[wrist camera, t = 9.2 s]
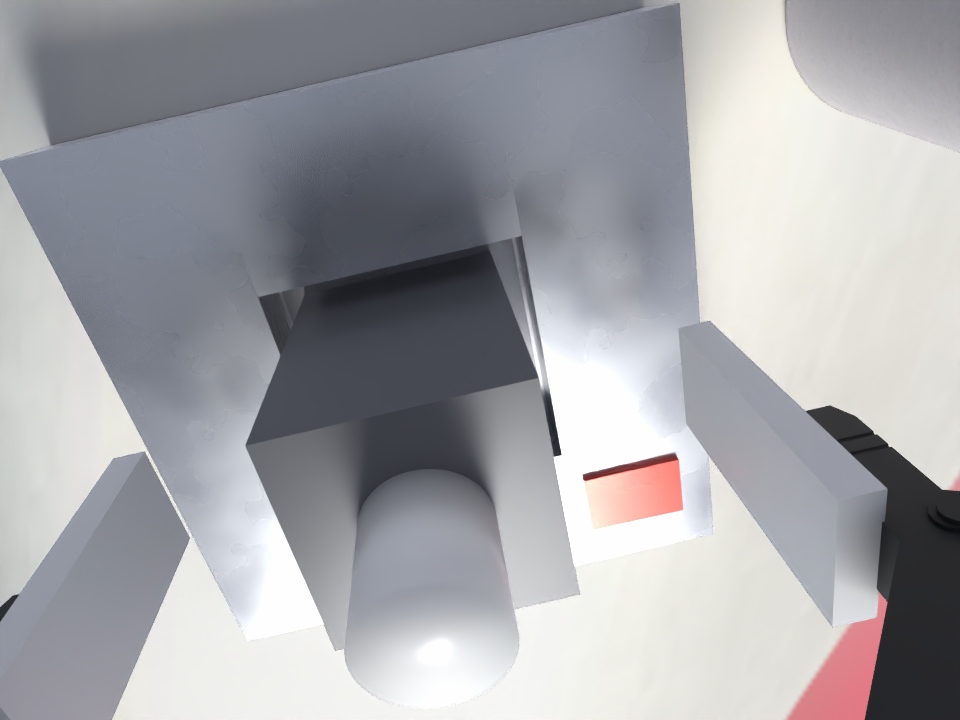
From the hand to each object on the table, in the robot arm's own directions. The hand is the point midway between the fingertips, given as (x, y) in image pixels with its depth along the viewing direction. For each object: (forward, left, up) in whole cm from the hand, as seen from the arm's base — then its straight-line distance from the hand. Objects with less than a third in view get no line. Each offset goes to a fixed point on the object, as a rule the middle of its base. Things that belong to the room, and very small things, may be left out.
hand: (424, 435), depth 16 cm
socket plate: (0, 0, -5) cm, 5 cm away
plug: (0, 0, -5) cm, 5 cm away
